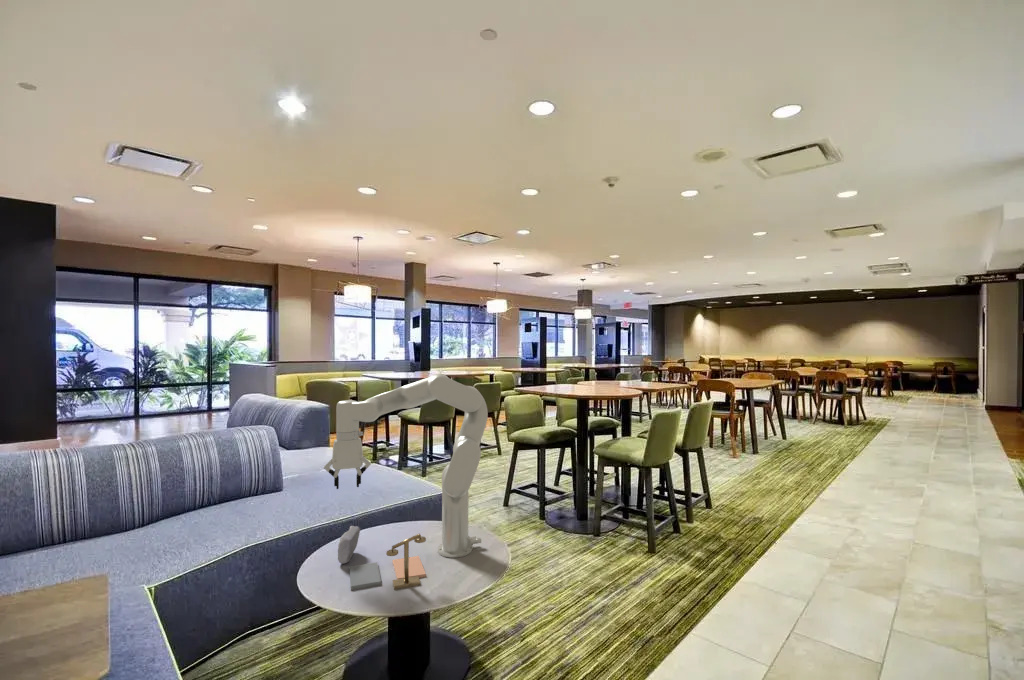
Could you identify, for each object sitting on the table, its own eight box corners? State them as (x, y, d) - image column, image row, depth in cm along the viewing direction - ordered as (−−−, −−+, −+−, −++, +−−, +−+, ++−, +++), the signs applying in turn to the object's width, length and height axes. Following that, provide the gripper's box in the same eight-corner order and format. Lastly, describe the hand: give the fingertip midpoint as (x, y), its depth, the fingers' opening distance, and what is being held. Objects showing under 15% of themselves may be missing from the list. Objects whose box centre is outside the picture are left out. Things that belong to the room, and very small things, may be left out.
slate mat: (377, 565, 163) (377, 562, 163) (381, 585, 150) (381, 581, 150) (349, 570, 160) (349, 566, 160) (350, 590, 147) (350, 586, 147)
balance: (424, 578, 154) (424, 530, 154) (426, 584, 150) (426, 535, 150) (385, 585, 150) (385, 535, 150) (387, 591, 146) (387, 540, 146)
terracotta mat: (418, 559, 168) (418, 555, 168) (425, 577, 155) (425, 573, 155) (392, 563, 165) (392, 559, 165) (397, 582, 152) (397, 578, 152)
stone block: (350, 567, 162) (350, 537, 162) (336, 567, 162) (336, 537, 162) (362, 551, 174) (362, 524, 174) (348, 551, 174) (348, 524, 174)
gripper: (372, 432, 175) (372, 481, 174) (321, 435, 169) (321, 486, 168) (374, 436, 167) (374, 487, 167) (320, 439, 162) (320, 492, 161)
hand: (347, 486), depth 168 cm, fingers open, 6 cm apart
